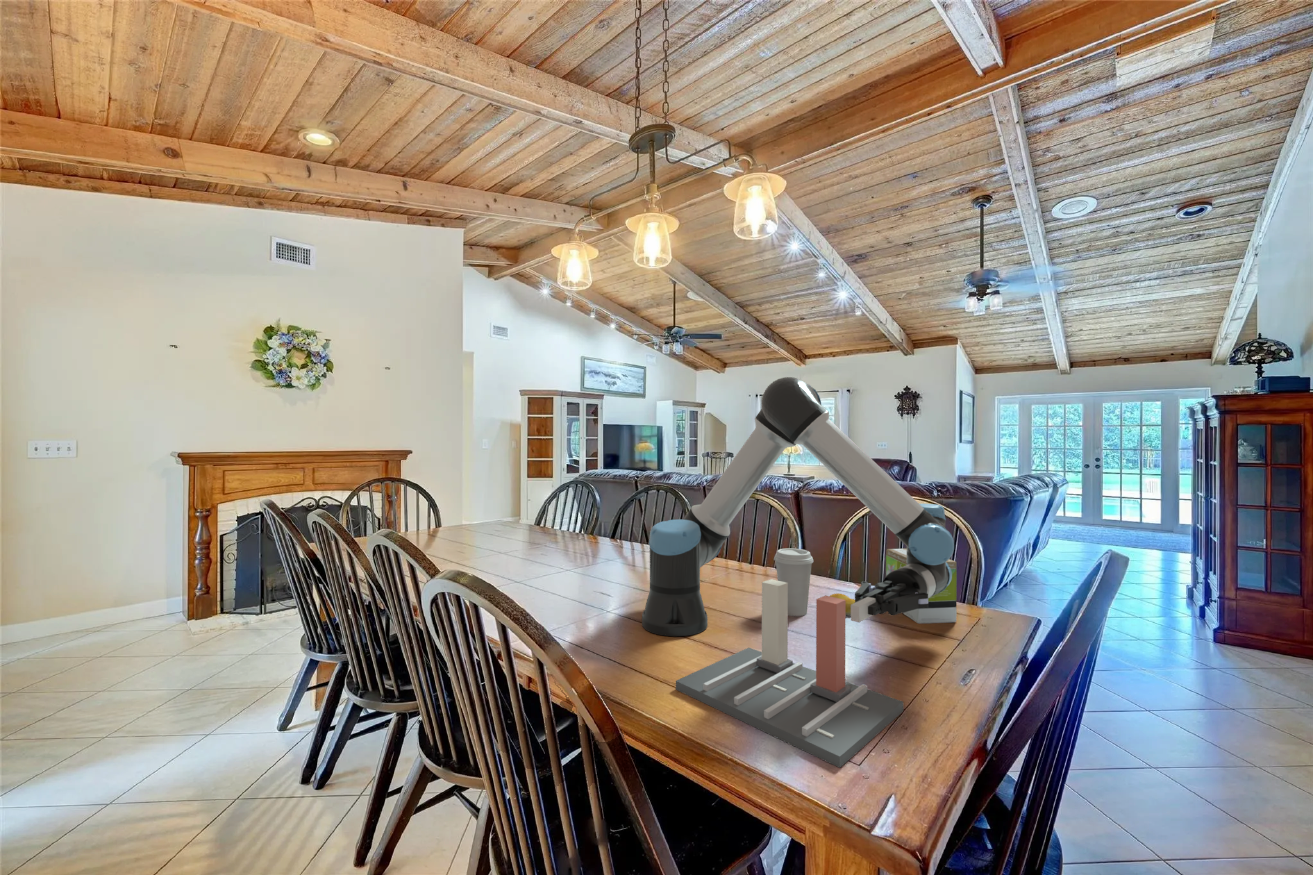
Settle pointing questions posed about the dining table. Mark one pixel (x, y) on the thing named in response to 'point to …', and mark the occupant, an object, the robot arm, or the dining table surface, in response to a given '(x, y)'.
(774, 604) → the cream fader
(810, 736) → the console
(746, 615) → the dining table surface
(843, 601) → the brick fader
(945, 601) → the tea box
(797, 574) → the coffee cup
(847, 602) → the yellow rounded lump
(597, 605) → the dining table surface
